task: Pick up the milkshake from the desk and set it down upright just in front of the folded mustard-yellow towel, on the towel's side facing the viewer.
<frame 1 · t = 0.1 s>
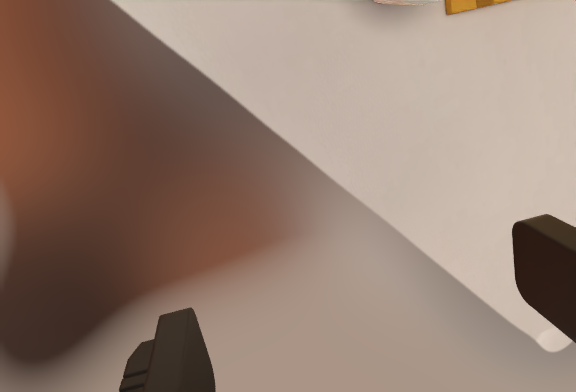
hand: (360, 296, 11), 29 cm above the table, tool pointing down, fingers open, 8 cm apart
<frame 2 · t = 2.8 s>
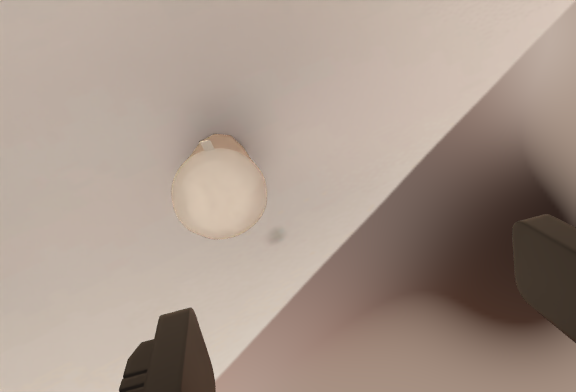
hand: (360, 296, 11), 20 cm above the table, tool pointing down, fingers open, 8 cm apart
milkshake: (219, 151, 30), on the table
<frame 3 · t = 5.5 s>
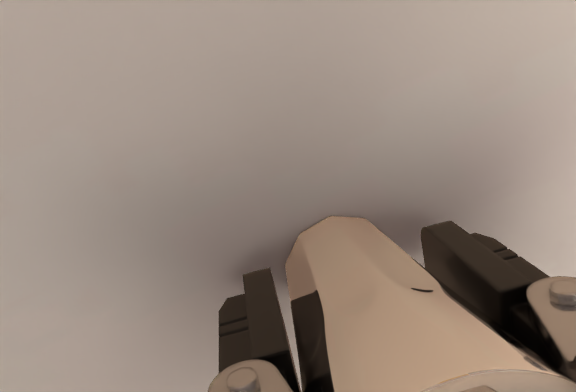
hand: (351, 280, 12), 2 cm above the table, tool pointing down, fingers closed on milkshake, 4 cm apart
milkshake: (335, 250, 14), on the table, touching gripper
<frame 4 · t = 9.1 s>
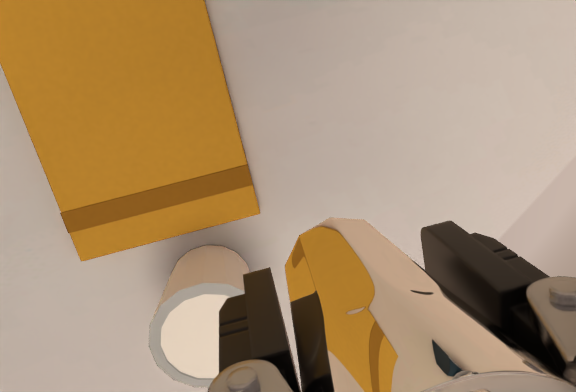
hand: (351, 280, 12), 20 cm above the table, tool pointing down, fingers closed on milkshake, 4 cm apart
milkshake: (334, 251, 14), point 18 cm above the table, touching gripper
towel: (124, 84, 29), on the table
shot glass: (211, 280, 33), on the table
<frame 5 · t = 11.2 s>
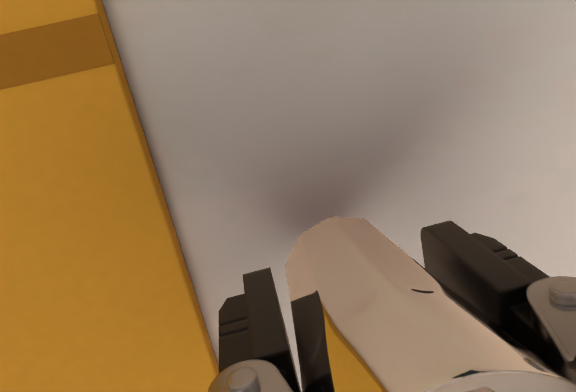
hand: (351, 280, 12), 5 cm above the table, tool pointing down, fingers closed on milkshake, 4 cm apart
milkshake: (335, 250, 14), point 3 cm above the table, touching gripper
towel: (12, 289, 16), on the table
when the fingers open (2 cm above the table, at t = 12.7 s): milkshake stays where it is, on the table.
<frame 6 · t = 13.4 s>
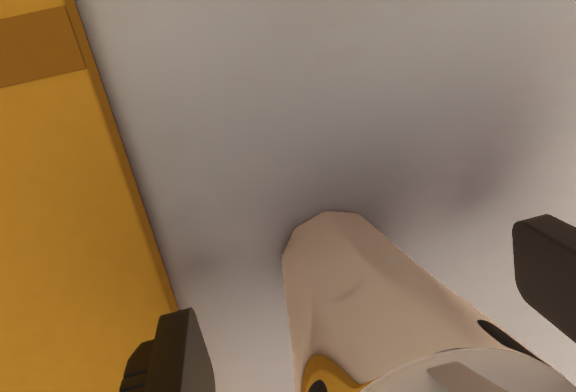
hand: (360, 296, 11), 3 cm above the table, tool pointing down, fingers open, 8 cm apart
milkshake: (329, 244, 15), on the table
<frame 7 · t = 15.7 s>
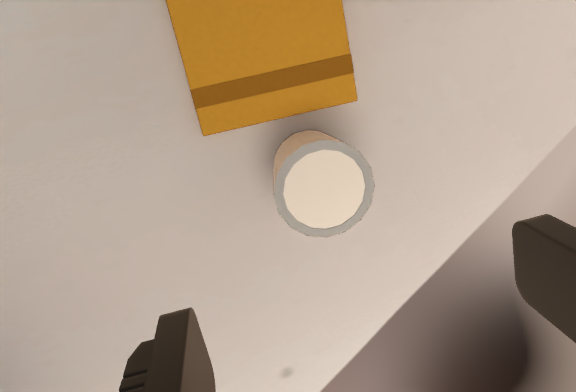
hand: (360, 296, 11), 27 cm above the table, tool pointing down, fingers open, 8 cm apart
shot glass: (307, 164, 38), on the table
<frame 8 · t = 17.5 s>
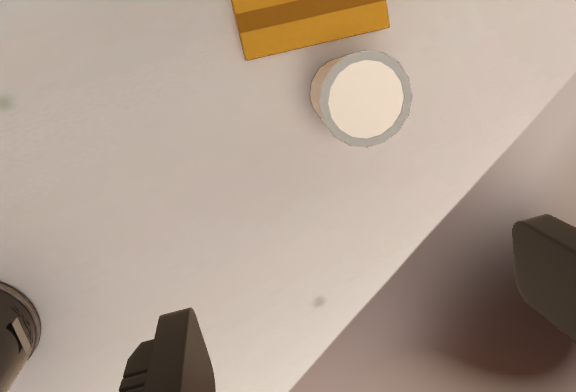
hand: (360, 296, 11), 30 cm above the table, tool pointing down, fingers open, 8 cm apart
shot glass: (341, 91, 40), on the table
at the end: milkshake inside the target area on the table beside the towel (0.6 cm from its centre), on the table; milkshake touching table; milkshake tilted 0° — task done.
